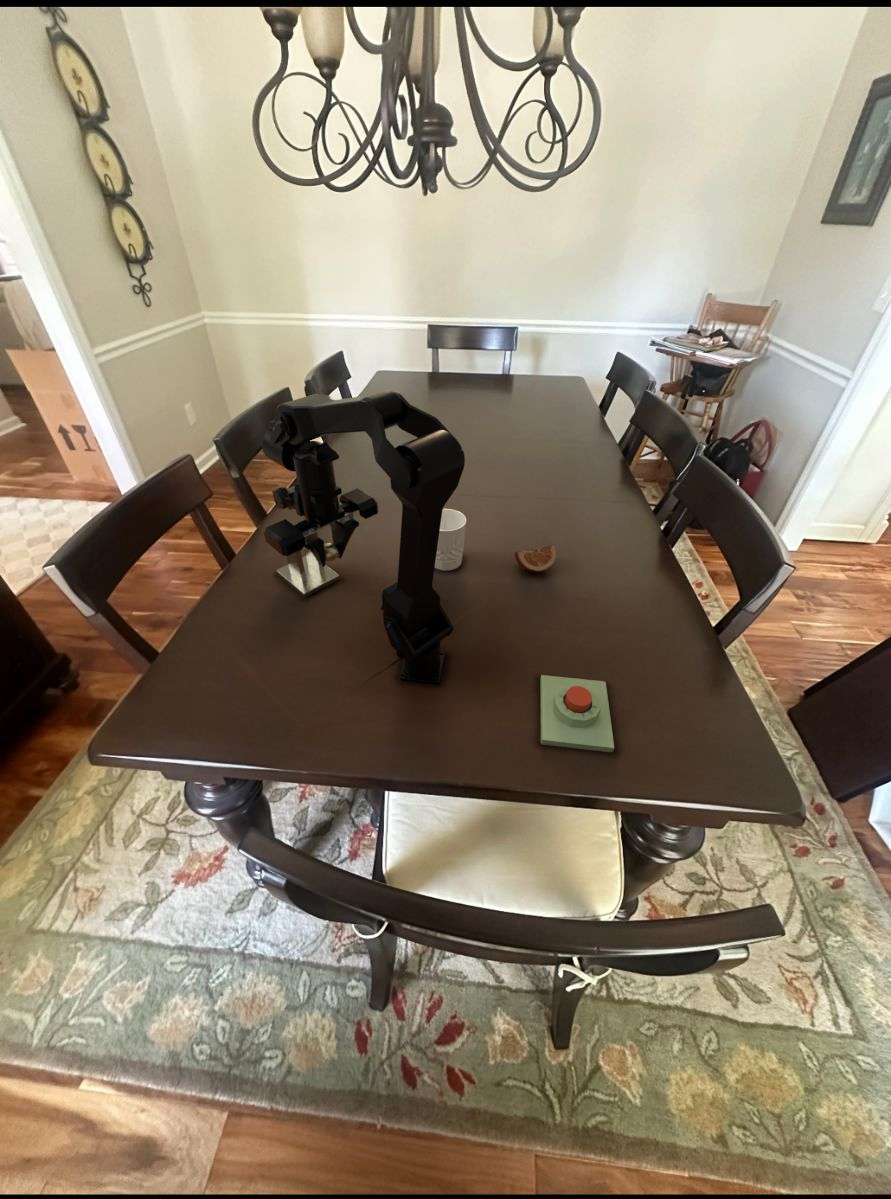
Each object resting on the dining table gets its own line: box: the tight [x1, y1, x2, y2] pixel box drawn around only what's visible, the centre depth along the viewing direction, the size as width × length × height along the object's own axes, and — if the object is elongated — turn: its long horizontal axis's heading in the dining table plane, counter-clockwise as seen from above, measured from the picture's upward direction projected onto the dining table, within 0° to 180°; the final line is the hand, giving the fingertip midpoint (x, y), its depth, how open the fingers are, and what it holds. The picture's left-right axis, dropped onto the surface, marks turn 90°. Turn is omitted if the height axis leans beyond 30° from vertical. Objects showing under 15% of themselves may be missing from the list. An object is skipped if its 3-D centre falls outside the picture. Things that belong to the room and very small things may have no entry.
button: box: [565, 686, 592, 713], centre depth 75 cm, size 4×4×2 cm
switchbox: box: [539, 674, 615, 753], centre depth 76 cm, size 12×10×3 cm
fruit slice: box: [514, 544, 558, 573], centre depth 102 cm, size 8×7×5 cm
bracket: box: [276, 533, 341, 598], centre depth 98 cm, size 10×8×10 cm
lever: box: [300, 542, 339, 563], centre depth 92 cm, size 13×3×3 cm, turn 44°
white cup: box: [434, 508, 467, 572], centre depth 102 cm, size 8×8×10 cm
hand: (330, 561), depth 90 cm, fingers closed on lever, 3 cm apart
